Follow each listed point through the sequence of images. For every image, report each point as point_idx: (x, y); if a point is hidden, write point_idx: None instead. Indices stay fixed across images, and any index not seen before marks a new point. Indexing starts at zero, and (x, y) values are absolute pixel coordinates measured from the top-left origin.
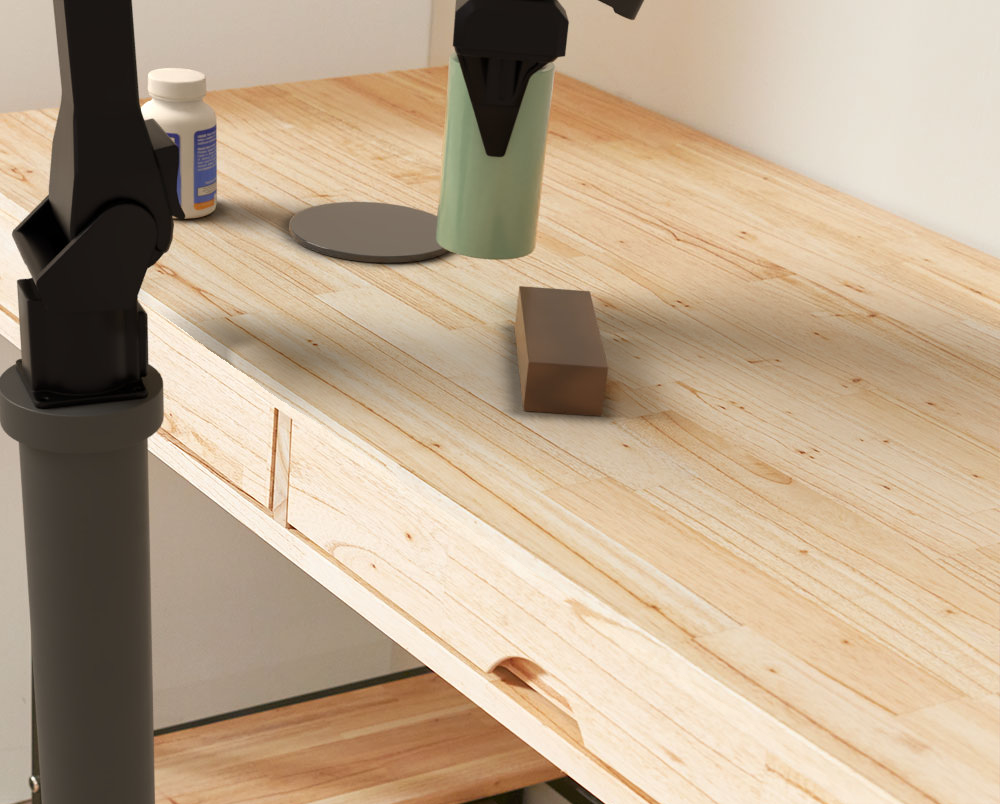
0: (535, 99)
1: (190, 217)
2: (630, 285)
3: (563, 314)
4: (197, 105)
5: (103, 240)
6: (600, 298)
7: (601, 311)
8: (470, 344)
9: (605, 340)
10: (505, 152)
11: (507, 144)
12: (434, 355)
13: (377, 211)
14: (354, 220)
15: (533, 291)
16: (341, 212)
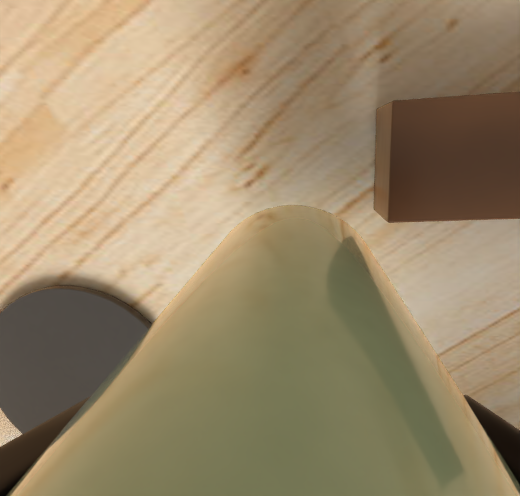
0: (504, 468)
1: None
2: (146, 28)
3: (516, 151)
4: None
5: None
6: (216, 80)
7: (270, 80)
8: (429, 265)
9: (388, 75)
10: (474, 400)
11: (499, 418)
12: (471, 307)
13: (19, 380)
14: (64, 403)
15: (410, 200)
16: (42, 417)
